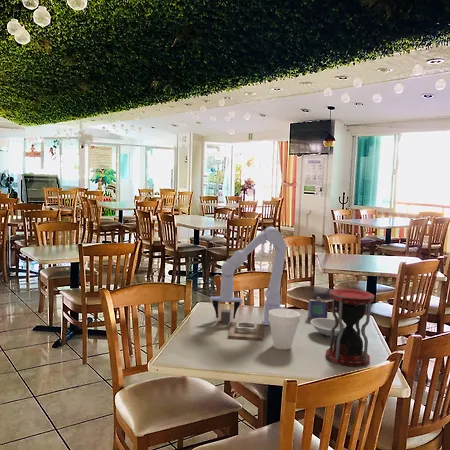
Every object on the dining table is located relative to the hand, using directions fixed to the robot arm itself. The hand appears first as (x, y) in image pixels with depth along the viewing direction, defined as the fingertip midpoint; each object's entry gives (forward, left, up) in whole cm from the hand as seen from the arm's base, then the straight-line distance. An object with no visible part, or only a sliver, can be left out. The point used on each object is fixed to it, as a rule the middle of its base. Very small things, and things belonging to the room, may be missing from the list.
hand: (225, 317), depth 220 cm
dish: (-45, +10, -2) cm, 46 cm away
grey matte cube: (0, 0, -2) cm, 2 cm away
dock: (-10, +13, -2) cm, 17 cm away
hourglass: (-49, +36, -2) cm, 61 cm away
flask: (-43, -14, -2) cm, 45 cm away
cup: (-25, +28, -2) cm, 38 cm away
